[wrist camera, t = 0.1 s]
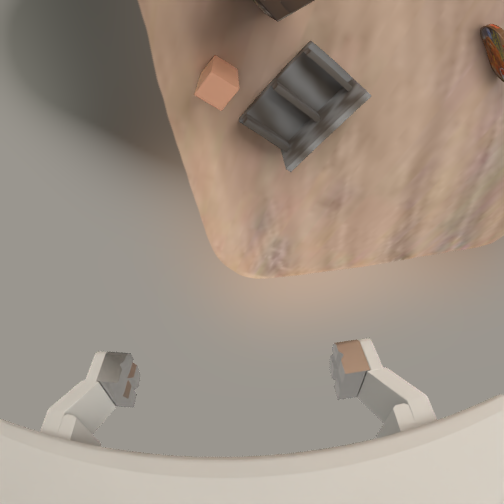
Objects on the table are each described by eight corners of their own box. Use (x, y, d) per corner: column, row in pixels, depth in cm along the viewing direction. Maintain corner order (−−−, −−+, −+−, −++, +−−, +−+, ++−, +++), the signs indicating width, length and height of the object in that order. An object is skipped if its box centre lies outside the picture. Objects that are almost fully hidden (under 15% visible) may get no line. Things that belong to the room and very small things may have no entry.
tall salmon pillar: (214, 55, 46) (211, 71, 38) (237, 69, 48) (239, 89, 40) (200, 73, 48) (193, 94, 40) (223, 86, 51) (221, 111, 43)
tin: (475, 22, 35) (501, 32, 30) (484, 18, 34) (509, 28, 28) (493, 76, 44) (516, 92, 39) (501, 72, 43) (523, 87, 37)
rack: (310, 40, 44) (324, 50, 38) (354, 80, 50) (372, 97, 44) (239, 118, 56) (240, 139, 50) (284, 148, 62) (291, 172, 56)
